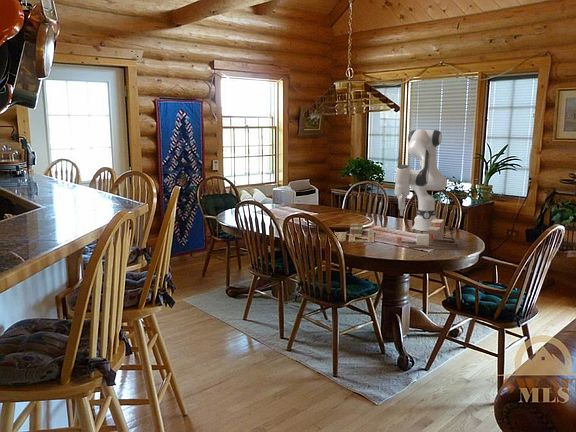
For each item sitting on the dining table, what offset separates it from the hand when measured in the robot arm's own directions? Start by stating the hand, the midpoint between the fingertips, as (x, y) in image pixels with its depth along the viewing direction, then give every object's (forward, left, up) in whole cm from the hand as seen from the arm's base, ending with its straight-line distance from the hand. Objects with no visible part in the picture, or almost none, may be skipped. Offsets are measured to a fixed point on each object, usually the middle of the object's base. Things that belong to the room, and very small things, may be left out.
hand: (401, 214), depth 305 cm
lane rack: (+1, +19, -19) cm, 27 cm away
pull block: (+1, +7, -18) cm, 19 cm away
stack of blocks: (-16, +22, -20) cm, 33 cm away
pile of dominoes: (-19, -30, -20) cm, 41 cm away
